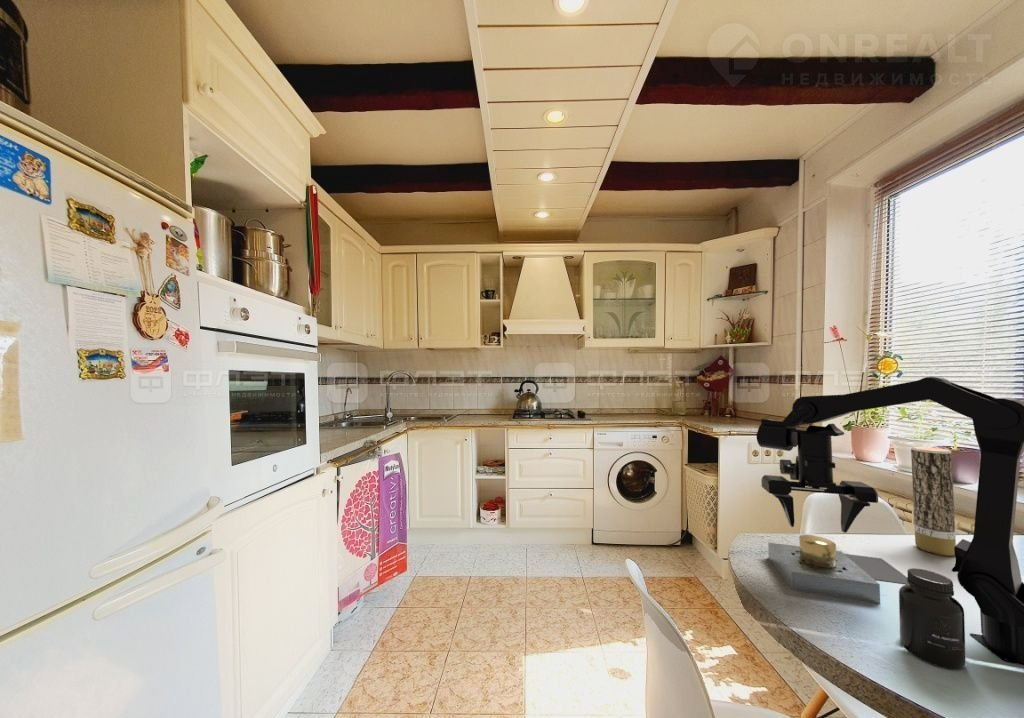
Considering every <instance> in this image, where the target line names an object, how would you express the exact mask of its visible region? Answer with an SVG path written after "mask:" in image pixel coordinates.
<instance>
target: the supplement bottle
mask: <svg viewBox="0 0 1024 718" xmlns="http://www.w3.org/2000/svg"><path fill="white" fill-rule="evenodd" d="M906 577H907V582H908V583H909V584H903V585H902V586H901V587H900V588H899V590H898V604H899V605H898V606H899V607H898V609H899V610H898V612H899V618H898V619H899V640H900V643H901V645H902V647H903V648H904V649H905V650H906V651H907V652H908V653H910V654H912V655H913V656H914V657H916V658H918V659H920V660H921V661H923V662H926V663H928V664H930V665H933V666H935V667H938V668H941V669H942V668H943V669H946V670H954V671H958V670H962V669H964V668H965V666H966V629H965V628H966V627H965V624H966V622H965V610H964V607H963V606H962V604H961V603H960V602H959V601H958V600H957V599H956V598H954V596H955V590H954V582H953V581H952V579H950V578H948V577H947V576H944V575H942V574H939V573H937V572H934V571H931V570H927V569H922V568H916V567H915V568H908V569H907V576H906Z"/></svg>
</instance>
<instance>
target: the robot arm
mask: <svg viewBox="0 0 1024 718" xmlns="http://www.w3.org/2000/svg"><path fill="white" fill-rule="evenodd" d="M924 401H932V402H934V403H936V404H938V405H941V406H943V407H945V408H947V409H949V410H952V411H954V412H956V413H958V414H959V415H962V416H964V417H967V418H969V419H972V423H973V429H974V435H975V437H976V438H975V440H976V441H977V446H978V448H979V451H980V460H979V461H980V462H979V472H978V473H979V474H978V480H977V481H978V484H977V494H976V505H975V517H974V525H973V526H974V527H973V536H972V539H971V541H968V540H966V539H963V538H962V539H961V540H960V541H959V542H958V543H956V546H955V547H954V553H955V555H954V556H955V557H954V559H955V564H954V566H953V567H952V568H951V570H950V571H951V572H953V573H957V575H956V576H957V581H958V583H959V585H960V586H961V587H962V588H963V589H964V590H965V591H966V592H967V593H968V594H969V595H970V596H972V597H973V598H974V600H975V602H976V603H977V604H976V605H977V606H978V608H979V611H980V613H979V614H980V630H981V632H980V633H981V634H977V633H973V632H972V633H971V632H970V633H969V636H970V637H971V638H973V639H974V640H975V641H977V642H978V643H979V644H981V645H982V646H983V647H984V648H986V650H988V651H990V652H991V653H992V654H994V655H995V656H996V657H997V658H999V659H1000V660H1001V661H1003V662H1006V663H1010V664H1015V665H1020V666H1024V582H1023V581H1022V575H1021V569H1020V565H1019V559H1018V556H1017V554H1016V551H1015V547H1014V533H1015V532H1014V531H1015V519H1016V512H1017V511H1016V508H1017V500H1018V499H1017V498H1018V497H1017V496H1018V491H1019V489H1018V488H1019V478H1020V477H1019V476H1020V466H1021V458H1022V456H1023V453H1024V401H1023V400H1022V399H1019V398H1012V397H995V396H992V395H990V394H986V393H983V392H982V391H981V392H980V391H978V390H976V389H975V390H974V389H972V388H969V387H966V386H963V385H959V384H957V383H954V382H951V381H949V379H946V378H944V377H938V376H927V377H923V378H920V379H918V380H914V381H908V382H903V383H898V384H891V385H887V386H882V387H877V388H871V389H867V390H861V391H860V390H859V391H855V392H850V393H846V394H830V395H828V394H827V395H826V394H825V395H810V396H809V395H806V396H800V397H798V398H797V399H795V400H794V402H793V404H792V408H791V409H792V410H791V411H790V412H789V413H788V414H787V416H786V417H785V418H784V419H783V420H778V419H772V418H761V419H760V424H759V426H758V428H757V432H756V441H757V445H758V446H759V447H761V448H766V449H774V450H779V451H787V452H791V451H792V450H793V449H794V448H797V455H796V456H795V462H794V463H793V462H792V460H791V459H779V471H780V474H781V475H771V474H769V475H768V474H764V475H763V476H762V477H761V487H762V488H763V489H764V490H765V491H766V492H767V493H768V494H771V495H772V496H773V497H775V499H778V501H779V502H780V505H781V506H782V507H781V508H782V509H783V511H784V514H785V517H786V520H787V521H788V524H789V526H790V527H791V528H794V527H795V507H794V497H793V496H792V495H791V493H792V491H796V492H808V493H817V494H818V493H821V494H833V495H838V497H839V501H840V505H841V506H840V529H841V532H843V533H844V534H846V533H848V531H849V530H850V527H851V526H852V525H853V522H854V521H855V519H856V518H857V516H858V515H859V514H860V513H861V512H862V510H863V509H864V508H865V507H870V506H871V503H875V504H877V503H879V494H878V492H877V490H876V489H875V488H874V487H873V486H870V485H868V484H867V483H864V482H862V481H854V480H853V481H851V480H840V482H839V484H836V482H835V481H834V472H833V469H836V463H835V462H834V461H833V446H832V444H833V443H832V437H840V436H844V435H845V432H844V431H843V430H842V429H840V428H838V427H837V426H836V424H835V423H828V424H827V425H826V426H822V425H812V424H818V423H824V422H828V421H831V420H834V419H837V418H840V417H843V416H846V415H848V414H851V413H852V414H853V413H854V412H860V411H866V410H872V409H878V408H884V407H890V406H891V407H892V406H898V405H905V404H911V403H917V402H924ZM810 424H811V425H810ZM807 425H808V426H807ZM800 426H801V427H802V426H807V428H797V427H800ZM782 475H789V478H790V480H792V481H790V480H789V479H787V478H785V477H784V476H782Z"/></svg>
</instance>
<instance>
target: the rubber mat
mask: <svg viewBox="0 0 1024 718" xmlns="http://www.w3.org/2000/svg"><path fill="white" fill-rule="evenodd" d="M844 554H845V555H846V556H847V557H848V558H849V559H851V560H852V561H853V562H854V563H855V564H856V565H858V566H859V567H860V568H861V569H862V570H863V571H865V572H866V573H867V574H868V575H869V576H871V577H872V578H873V579H874V580H875V581H879V582H885V583H893V584H901V585H907V584H909V583H908V582H907V577H908V576H906V575H905V574H904V573H902V572H901V571H900V570H898V569H897V568H895V567H894V566H893V565H892V564H890V563H889V562H887V561H886V560H885V559H883V558H882V557H873V556H866V555H857V554H850V553H849V554H848V553H844Z"/></svg>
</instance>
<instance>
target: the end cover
mask: <svg viewBox="0 0 1024 718" xmlns="http://www.w3.org/2000/svg"><path fill="white" fill-rule="evenodd" d="M798 538H799V546H800V557H801V558H802V559H803V560H804V561H805V562H807V563H809V564H812V565H815V566H819V567H825V568H832V567H835V566H836V551H837V544H836V543H835V542H834V541H832V540H831V539H828V538H825V537H822V536H818V535H814V534H813V535H811V534H802V535H800V536H799V537H798Z"/></svg>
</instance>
